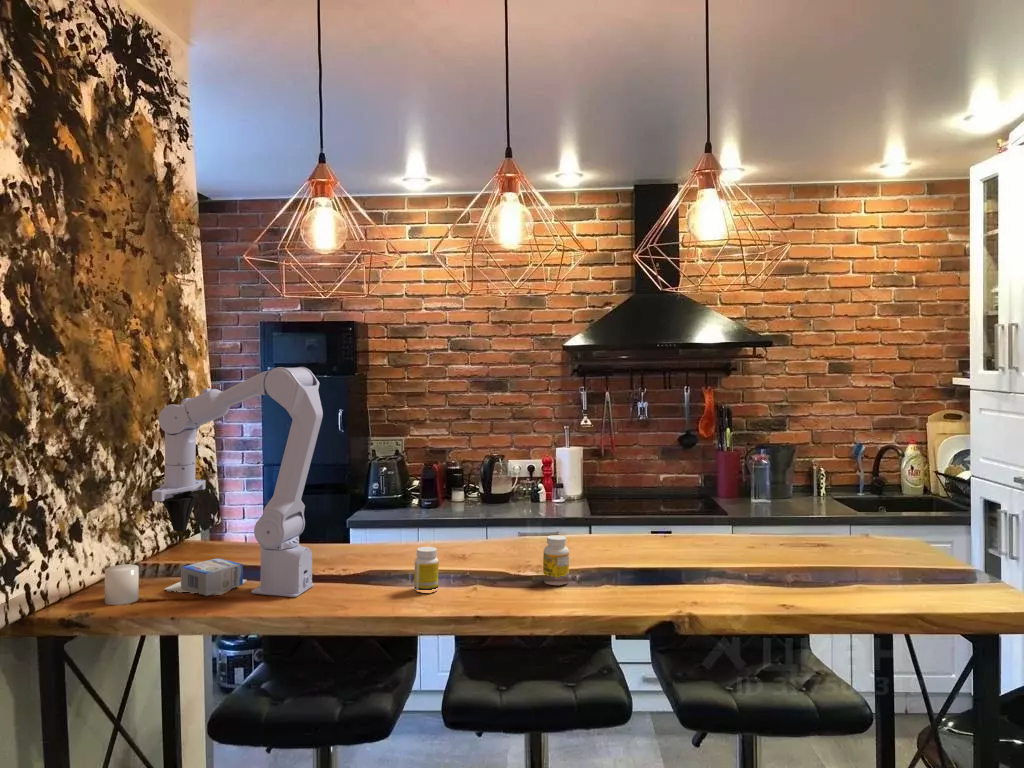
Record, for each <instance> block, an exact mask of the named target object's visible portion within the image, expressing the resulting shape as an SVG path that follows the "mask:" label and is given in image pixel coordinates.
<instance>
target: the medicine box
mask: <svg viewBox="0 0 1024 768" xmlns="http://www.w3.org/2000/svg"><path fill="white" fill-rule="evenodd" d="M243 567H244V565H243V563H239V562H235V561H233V560H227V559H223V558H219V557H217V558H212V559H209V560H204V561H199V562H196V563H192V564H189V565H188V564H187V565H184V566H181V568H180V581H181V588H182V589H186V590H189V591H192V592H196V593H199V594H198V595H203V596H205V597H208V596H212V595H211V594H215V593H218V592H221V591H225V590H228V589H231V588H234V589H235V587H236V588H238V587H240V586H243V584H244V583H243V579H244V568H243Z"/></svg>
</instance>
